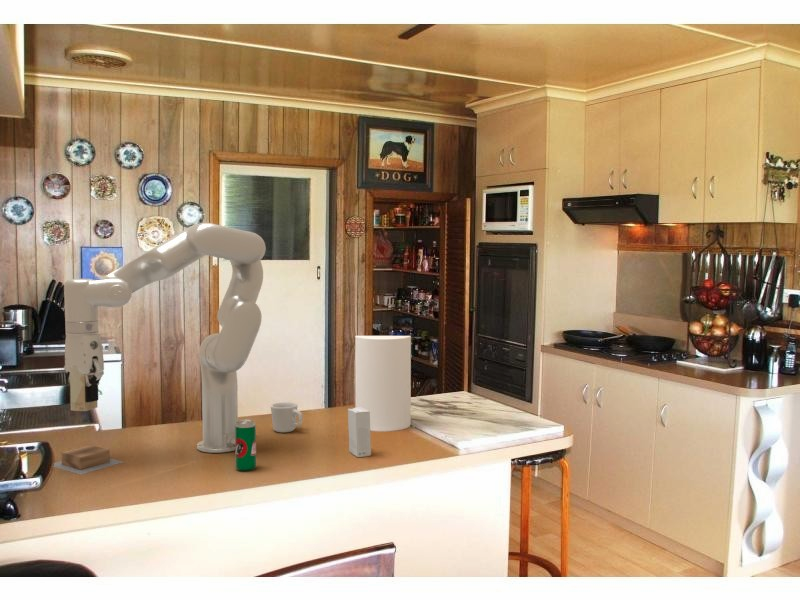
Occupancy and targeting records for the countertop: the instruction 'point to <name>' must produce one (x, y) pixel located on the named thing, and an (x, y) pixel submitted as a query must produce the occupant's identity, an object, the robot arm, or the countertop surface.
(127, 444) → the countertop surface
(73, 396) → the box
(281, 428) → the cup
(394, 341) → the cylinder
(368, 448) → the skincare box
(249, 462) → the soda can
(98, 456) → the walnut plinth
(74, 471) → the slate mat
